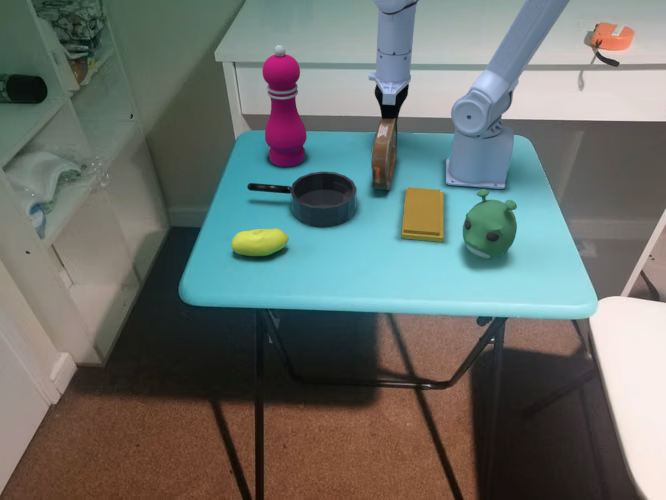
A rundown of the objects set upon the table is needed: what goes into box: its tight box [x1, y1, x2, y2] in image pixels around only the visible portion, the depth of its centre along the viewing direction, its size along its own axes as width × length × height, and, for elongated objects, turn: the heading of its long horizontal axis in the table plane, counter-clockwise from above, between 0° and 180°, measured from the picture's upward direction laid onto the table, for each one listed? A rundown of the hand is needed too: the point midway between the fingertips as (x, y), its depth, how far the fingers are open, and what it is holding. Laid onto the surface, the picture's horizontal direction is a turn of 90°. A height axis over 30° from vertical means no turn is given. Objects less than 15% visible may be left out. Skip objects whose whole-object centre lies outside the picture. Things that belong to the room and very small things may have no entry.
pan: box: [290, 171, 358, 228], centre depth 83 cm, size 10×10×4 cm
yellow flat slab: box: [401, 186, 445, 243], centre depth 82 cm, size 6×12×1 cm, turn 171°
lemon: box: [230, 228, 290, 257], centre depth 75 cm, size 4×8×4 cm, turn 95°
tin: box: [370, 118, 398, 191], centre depth 89 cm, size 15×3×8 cm, turn 168°
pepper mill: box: [261, 44, 308, 168], centre depth 90 cm, size 7×7×20 cm
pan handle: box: [246, 182, 292, 195], centre depth 84 cm, size 7×1×1 cm, turn 81°
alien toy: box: [462, 188, 518, 260], centre depth 72 cm, size 7×8×10 cm
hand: (389, 125), depth 96 cm, fingers closed
